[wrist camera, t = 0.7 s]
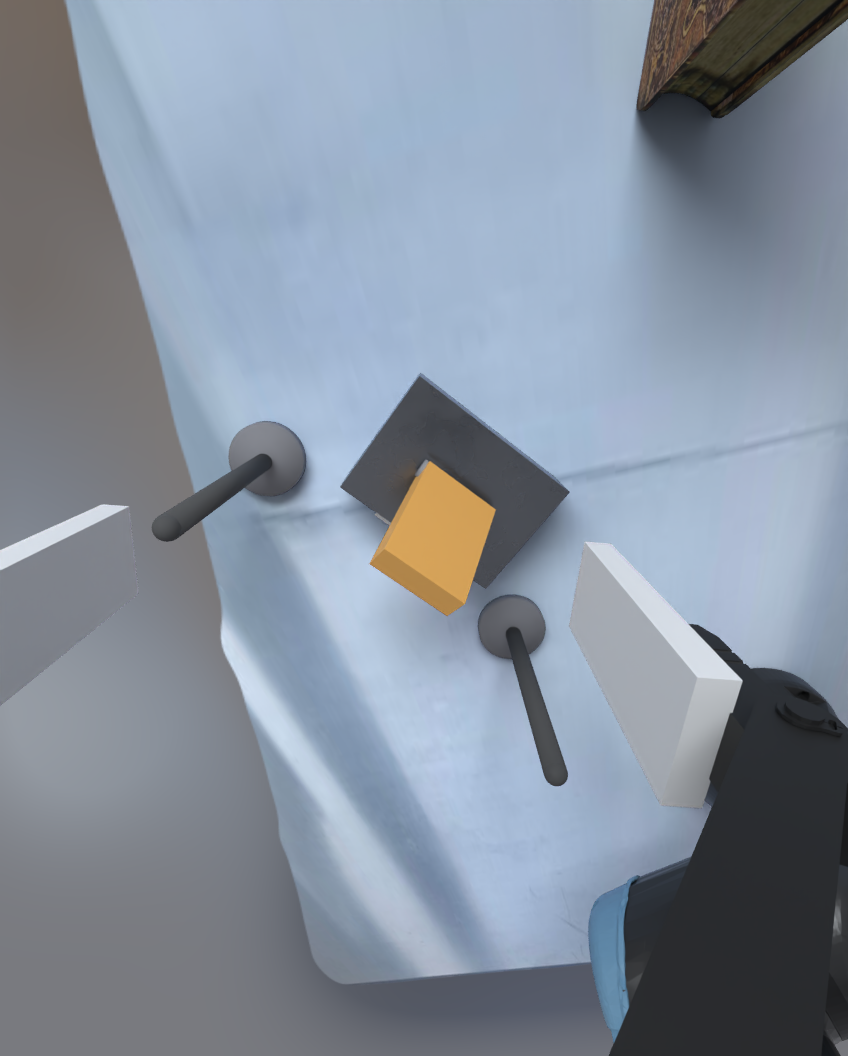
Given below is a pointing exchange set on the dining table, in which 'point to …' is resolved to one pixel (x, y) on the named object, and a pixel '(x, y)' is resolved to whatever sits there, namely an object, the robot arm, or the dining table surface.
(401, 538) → the orange rectangular prism
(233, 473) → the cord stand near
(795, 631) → the dining table surface
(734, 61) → the book
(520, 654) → the stand
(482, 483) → the block
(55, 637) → the robot arm
